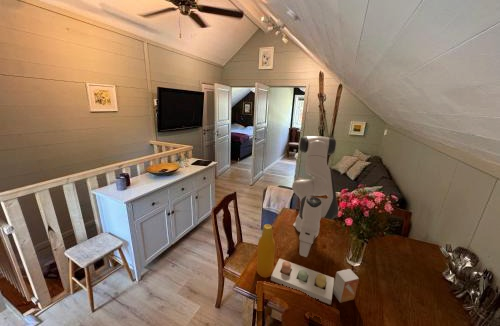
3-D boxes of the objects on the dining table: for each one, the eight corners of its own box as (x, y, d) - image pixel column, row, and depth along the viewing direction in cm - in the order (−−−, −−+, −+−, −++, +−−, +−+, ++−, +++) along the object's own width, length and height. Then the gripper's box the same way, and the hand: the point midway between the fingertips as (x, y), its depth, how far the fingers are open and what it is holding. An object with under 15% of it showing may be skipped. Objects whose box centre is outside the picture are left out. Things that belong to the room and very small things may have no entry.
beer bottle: (263, 281, 110) (266, 234, 101) (253, 269, 117) (255, 224, 108) (276, 273, 115) (280, 228, 106) (265, 262, 122) (268, 219, 113)
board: (279, 262, 123) (279, 258, 122) (333, 282, 110) (334, 278, 109) (270, 280, 110) (271, 275, 110) (330, 304, 98) (331, 300, 97)
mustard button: (316, 279, 109) (317, 272, 108) (325, 282, 107) (326, 275, 106) (314, 286, 105) (316, 279, 104) (324, 289, 103) (325, 282, 102)
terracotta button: (283, 266, 116) (283, 260, 115) (291, 269, 114) (291, 263, 113) (280, 272, 112) (281, 266, 111) (288, 275, 110) (289, 269, 109)
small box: (340, 303, 99) (345, 282, 95) (331, 291, 105) (335, 271, 101) (354, 299, 101) (359, 278, 97) (345, 288, 107) (349, 268, 103)
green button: (298, 275, 113) (299, 269, 112) (307, 279, 111) (308, 272, 110) (296, 282, 109) (297, 275, 108) (305, 285, 107) (306, 278, 106)
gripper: (307, 216, 113) (304, 237, 118) (298, 238, 96) (295, 262, 101) (319, 219, 111) (316, 241, 115) (312, 243, 93) (308, 267, 98)
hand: (306, 251), depth 108 cm, fingers closed
